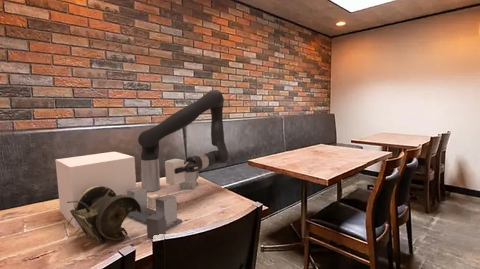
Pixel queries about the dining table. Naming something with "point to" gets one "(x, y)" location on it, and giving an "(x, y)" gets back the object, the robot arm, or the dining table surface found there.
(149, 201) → the beige rectangular block
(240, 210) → the dining table surface
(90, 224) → the bench grinder
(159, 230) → the relay
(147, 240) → the dining table surface
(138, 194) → the rail
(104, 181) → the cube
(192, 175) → the circuit breaker
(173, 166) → the block
